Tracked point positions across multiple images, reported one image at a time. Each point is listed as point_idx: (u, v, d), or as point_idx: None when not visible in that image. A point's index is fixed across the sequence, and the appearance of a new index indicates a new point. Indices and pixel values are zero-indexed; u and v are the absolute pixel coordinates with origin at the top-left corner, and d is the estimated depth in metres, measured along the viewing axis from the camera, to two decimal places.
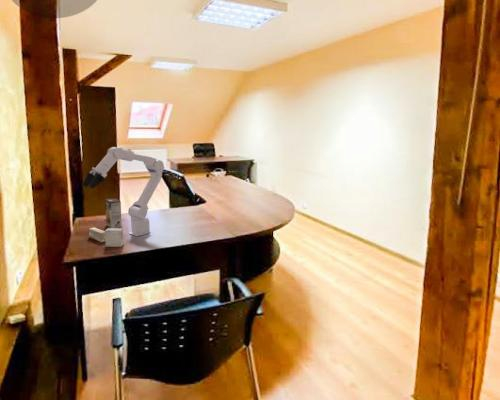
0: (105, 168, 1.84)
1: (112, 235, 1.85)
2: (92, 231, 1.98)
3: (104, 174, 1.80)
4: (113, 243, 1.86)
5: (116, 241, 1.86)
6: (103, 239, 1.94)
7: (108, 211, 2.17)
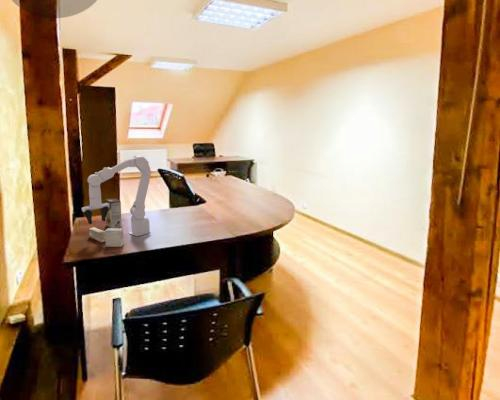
0: (90, 200, 1.92)
1: (112, 235, 1.85)
2: (92, 231, 1.98)
3: (82, 209, 1.89)
4: (113, 243, 1.86)
5: (116, 241, 1.86)
6: (103, 239, 1.94)
7: (108, 211, 2.17)
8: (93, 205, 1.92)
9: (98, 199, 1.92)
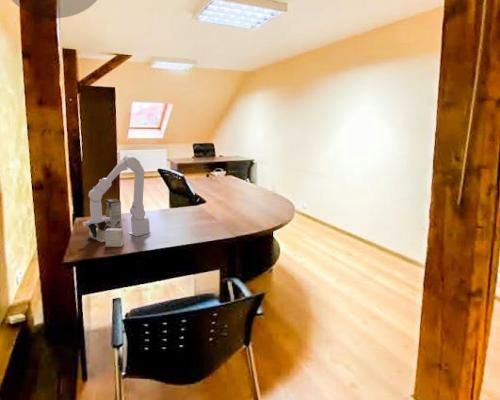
0: (91, 215, 1.93)
1: (112, 235, 1.85)
2: None
3: (83, 224, 1.91)
4: (113, 243, 1.86)
5: (116, 241, 1.86)
6: (103, 239, 1.94)
7: (108, 211, 2.17)
8: (94, 219, 1.93)
9: (99, 213, 1.94)
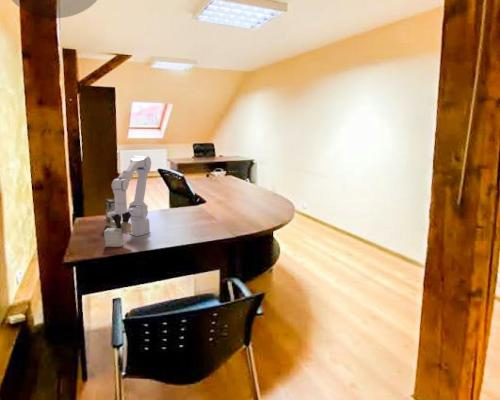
0: (116, 205, 1.86)
1: (111, 236, 1.85)
2: (115, 223, 1.91)
3: (108, 214, 1.83)
4: (113, 243, 1.86)
5: (115, 241, 1.86)
6: (128, 231, 1.88)
7: (108, 211, 2.17)
8: (119, 210, 1.86)
9: (124, 204, 1.86)
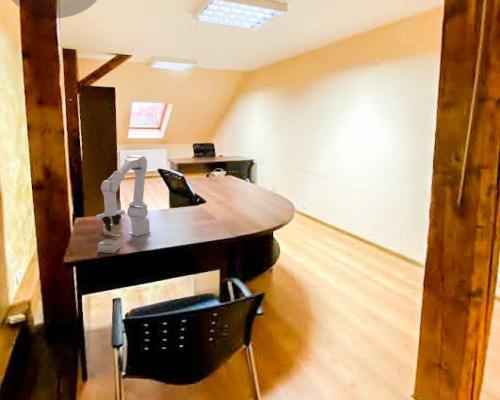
0: (105, 207, 1.81)
1: None
2: None
3: (97, 217, 1.79)
4: None
5: None
6: (118, 233, 1.82)
7: None
8: (108, 212, 1.81)
9: (114, 206, 1.82)
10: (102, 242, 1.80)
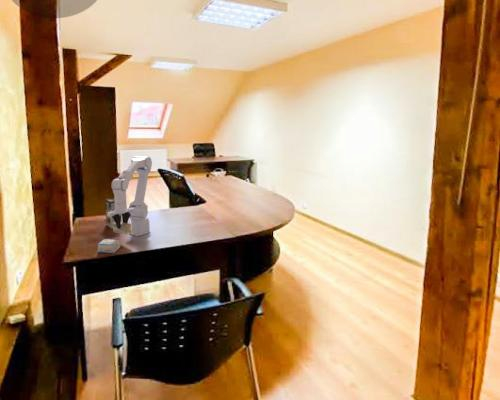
0: (115, 205, 1.86)
1: None
2: None
3: (108, 214, 1.84)
4: None
5: None
6: (128, 231, 1.88)
7: (108, 211, 2.17)
8: (119, 210, 1.86)
9: (124, 204, 1.87)
10: (102, 242, 1.80)
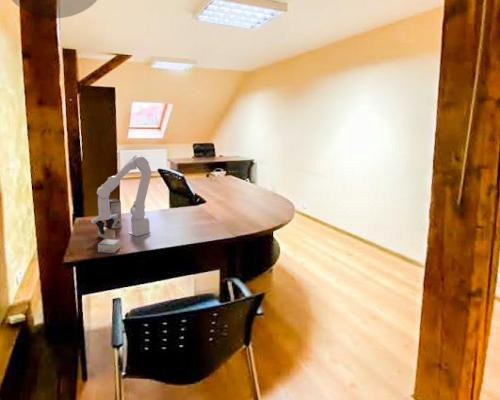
0: (99, 212, 1.96)
1: None
2: None
3: (91, 221, 1.93)
4: None
5: None
6: (112, 238, 1.96)
7: None
8: (102, 217, 1.96)
9: (107, 211, 1.96)
10: (102, 242, 1.80)
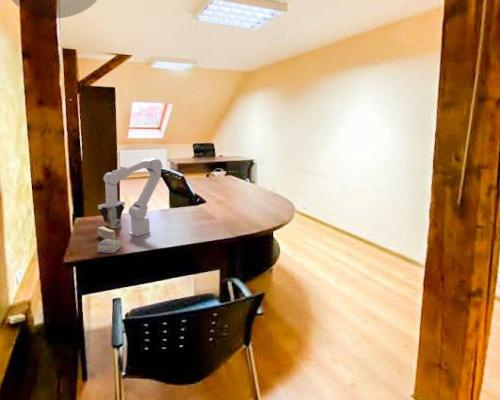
0: (106, 198, 1.92)
1: None
2: (101, 230, 2.00)
3: (98, 207, 1.90)
4: None
5: None
6: (112, 238, 1.96)
7: (108, 211, 2.17)
8: (109, 203, 1.92)
9: (114, 197, 1.93)
10: (102, 242, 1.80)
